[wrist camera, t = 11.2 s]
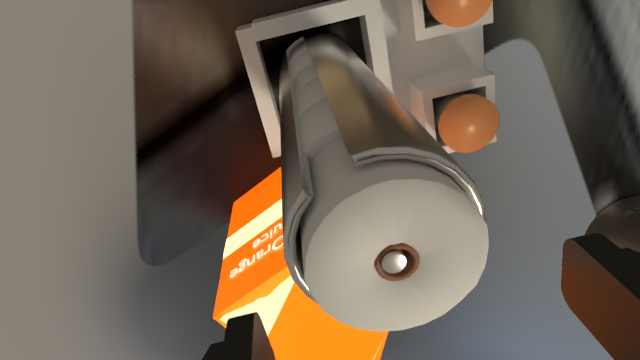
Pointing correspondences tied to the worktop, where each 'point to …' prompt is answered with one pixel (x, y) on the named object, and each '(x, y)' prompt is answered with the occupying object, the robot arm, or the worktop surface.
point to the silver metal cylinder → (370, 196)
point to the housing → (382, 55)
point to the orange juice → (280, 287)
